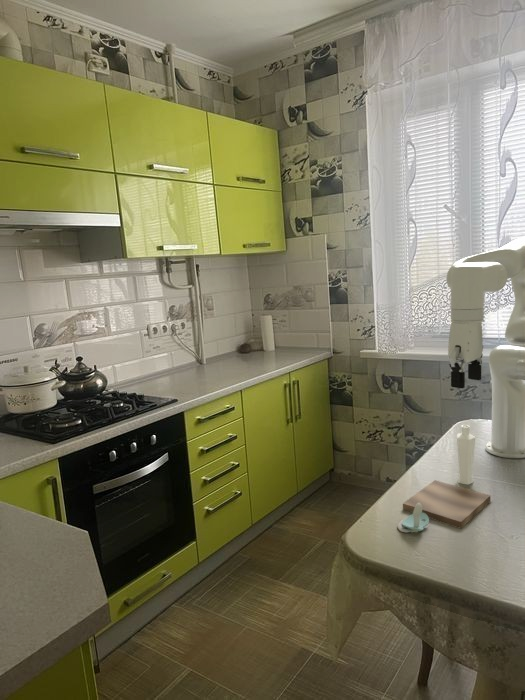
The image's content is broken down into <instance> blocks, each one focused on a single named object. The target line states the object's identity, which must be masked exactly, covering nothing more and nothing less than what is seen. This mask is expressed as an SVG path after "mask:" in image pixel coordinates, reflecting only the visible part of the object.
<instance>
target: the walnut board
mask: <svg viewBox="0 0 525 700" xmlns="http://www.w3.org/2000/svg"><path fill="white" fill-rule="evenodd" d="M491 497H492V496H491V495H490V494H487V493H483V492H480V491H477V490H472V489H469V488H466V487H461V486H458V485H454V484H450V483H446V482H443V481H440V480H435V479H434V480H433V481H431V483H429V484H428V485H426V486H425V487H424V488H422V489H420V490H419V491H418V492H416V493H415V494H414V495H412V496H411V497H409V498H408V499H407V500H405V501H404V502H403V503H402V510H404V511H406V512H410V513H413V511H414V508H415V506H416V504H417V503H420V504H421V505H422V513H425V514H427V516H428V517H429V519H432V520H434V521H437V522H440V523H442V524H446V525H450V526H451V527H455V528H459V529H462V528H463V527H464V526H465V525H466V524H467V523H469V522H470V521H471V520H472V519H473V518H474V517H475V516H476V515H477V514H479V512H480V511H482V510H483V509H484V508H485V507H486V506H487V505H488V504H489V503H491Z"/></svg>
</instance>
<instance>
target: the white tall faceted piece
mask: <svg viewBox="0 0 525 700" xmlns="http://www.w3.org/2000/svg"><path fill="white" fill-rule="evenodd" d="M470 427H471V426H470V425H468V424H461V432H459V433H457V434H456V439H457V442H456V444H457V457H458V474H459V475H458V478H457V482H458V484H463V485H467V486H468V485H471V484H473V483H474V478H473V469H474V467H473V466H474V460H475V459H474V455H475V446H476V436H474V435H473V434H471V433H470V431H471V430H470V429H471V428H470Z"/></svg>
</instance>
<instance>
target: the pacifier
mask: <svg viewBox="0 0 525 700" xmlns="http://www.w3.org/2000/svg"><path fill="white" fill-rule="evenodd" d="M429 522H430V518H429V517H428V516H427V514H425V513H422V505H421V504H420V503H417V504H416V506H415V508H414V511H413V512H412V513H411V514H410V515H408V516H407V517H406V518H403V519H401V520H400V521H399V522H398V524H397V529H398V530H399V531H400V532H402V533H405V534H407V533H413V532H416V533H419V532H421V531H424V528H425V527H427V526H428V525H429ZM404 527H405V528H404ZM418 531H419V532H418Z"/></svg>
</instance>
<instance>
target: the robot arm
mask: <svg viewBox="0 0 525 700" xmlns="http://www.w3.org/2000/svg"><path fill="white" fill-rule="evenodd" d="M508 279H510V281H511V285H512V290H513V294H514V305H513V309H512V311H511V314H510V317H509V320H508V321H507V324H506V328H505V332H504V338H505V341H506V342H507V343H508V344H501V345H497V346H495V347H493V349H491V351H490V352H489V357H488V365H489V371H490V378H491V441H487V443H486V444H485V450H486V452H488V453H489V454H492V455H494V456H496V457H500V458H505V459H525V384H524V382H523V381H525V237H520V238H517V239H514V240H512V241H511V242H509V243H507V244H505V245H503V246H502V247H500V248H497V249H493V250H489V251H486V252H481V253H479V254H478V253H477V254H475V255H471V256H467V257H464V258H461V259H460V260H458V261H456V262H455V263H453V264H452V265H451V266H450V267H449V269H448V270H447V273H446V284H447V286H448V288H449V289H450V323H451V324H450V328H449V336H448V349H447V354H448V355H447V359H448V361H449V364H448V365H449V367H450V368H449V370H450V387H452V388H456V389H457V388H458V389H464V388H466V387H465V386H466V382H465V381H466V379H465V378H466V372H465V371H464V370H465V367H466V365H467V378H468V379H469V380H472V381H473V380H474V381H480V380H482V364H483V360H482V358H483V351H484V350H483V349H484V345H483V341H484V340H483V325H482V324H483V323H484V319H485V317H484V316H485V314H484V313H485V310H484V309H485V293H497V292H499V291H500V290H502V289H503V288H504V287H505V286H506V284H507V282H508Z"/></svg>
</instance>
